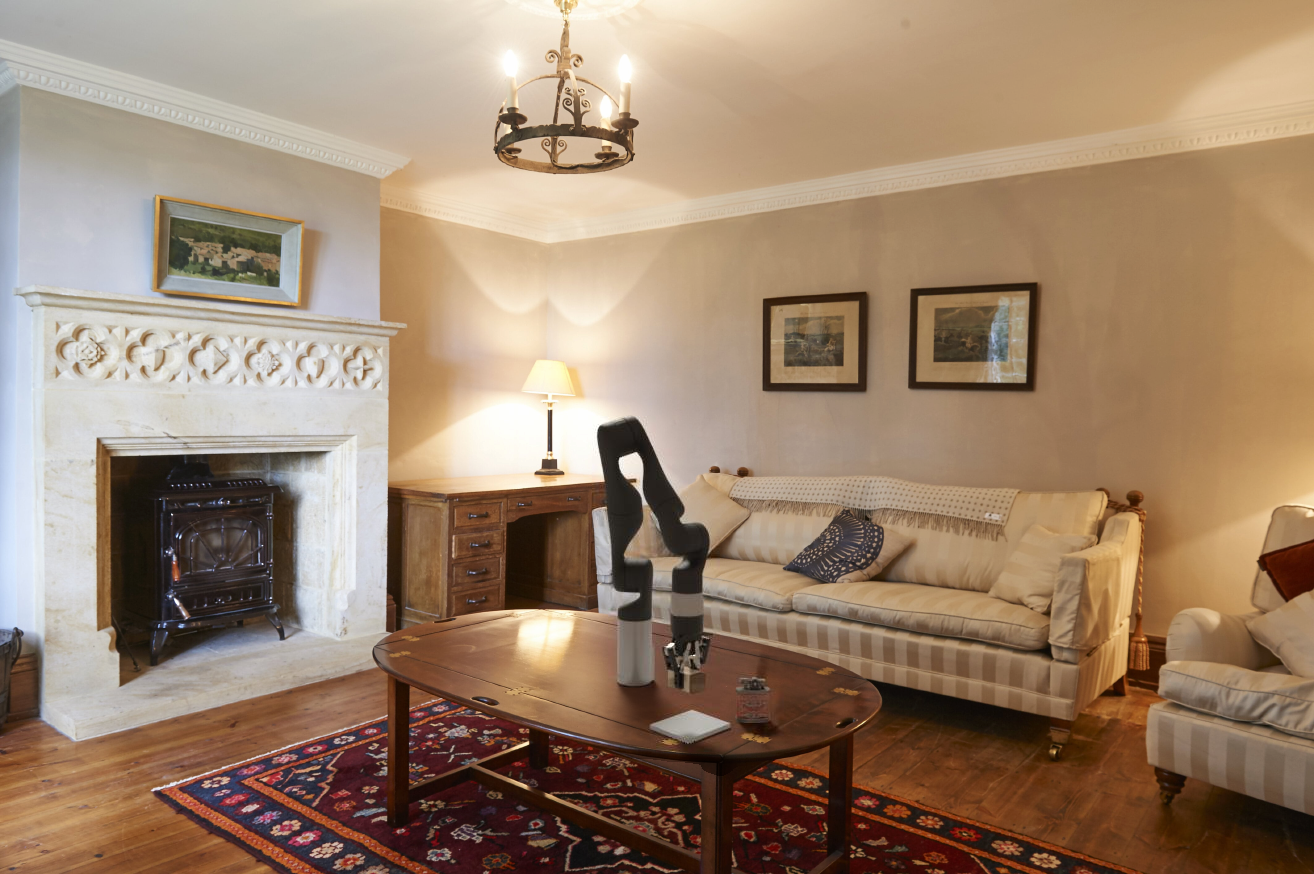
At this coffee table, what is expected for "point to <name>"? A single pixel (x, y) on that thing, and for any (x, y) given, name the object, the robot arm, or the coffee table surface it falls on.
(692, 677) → the block
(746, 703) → the lighter
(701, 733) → the mat
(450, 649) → the coffee table surface
